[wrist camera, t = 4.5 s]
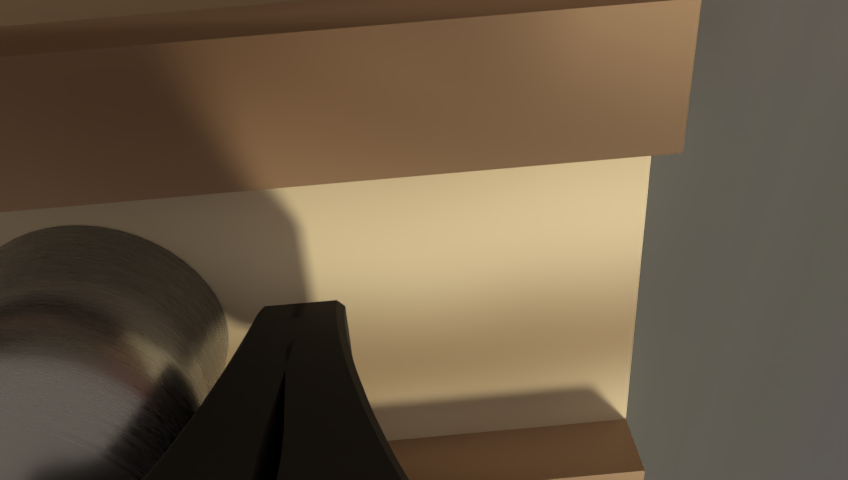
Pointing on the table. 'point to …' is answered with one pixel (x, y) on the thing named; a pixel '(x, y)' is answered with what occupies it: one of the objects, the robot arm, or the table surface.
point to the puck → (100, 353)
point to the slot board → (380, 189)
